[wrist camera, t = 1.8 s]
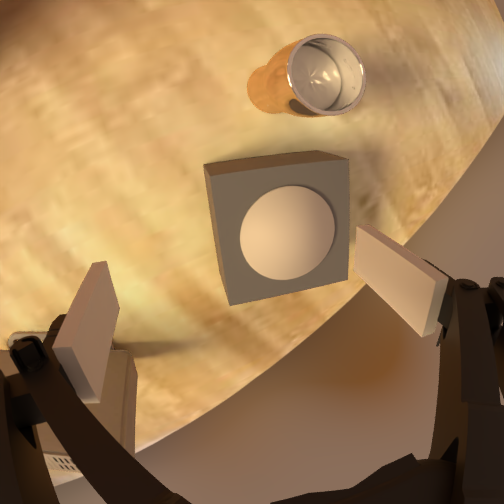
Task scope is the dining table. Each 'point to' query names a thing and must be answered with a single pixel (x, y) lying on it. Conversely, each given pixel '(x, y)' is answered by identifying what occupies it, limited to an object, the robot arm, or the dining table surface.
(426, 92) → the dining table surface
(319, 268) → the plate
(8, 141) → the dining table surface
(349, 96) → the beer glass
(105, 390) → the network device
